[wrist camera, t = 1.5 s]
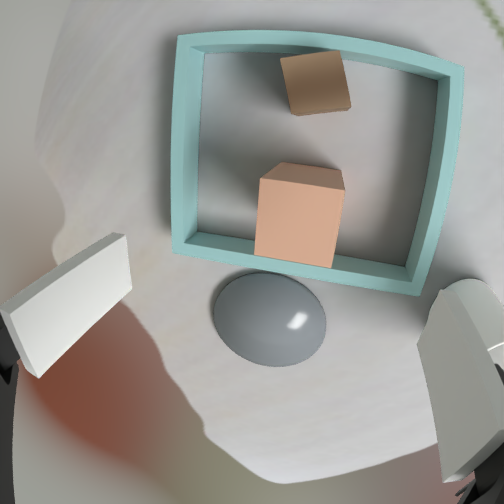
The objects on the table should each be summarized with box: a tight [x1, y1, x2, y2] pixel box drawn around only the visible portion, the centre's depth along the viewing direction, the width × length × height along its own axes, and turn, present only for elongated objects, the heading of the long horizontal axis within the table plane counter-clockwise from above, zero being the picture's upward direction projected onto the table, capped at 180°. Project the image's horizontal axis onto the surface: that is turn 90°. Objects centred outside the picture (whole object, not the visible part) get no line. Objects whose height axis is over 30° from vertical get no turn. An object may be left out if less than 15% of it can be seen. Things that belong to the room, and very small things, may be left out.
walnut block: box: [280, 50, 351, 116], centre depth 19 cm, size 4×4×5 cm
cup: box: [428, 279, 504, 371], centre depth 20 cm, size 8×12×10 cm
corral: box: [171, 30, 464, 297], centre depth 22 cm, size 19×22×3 cm
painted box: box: [254, 162, 345, 268], centre depth 22 cm, size 5×5×8 cm
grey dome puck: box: [213, 273, 326, 367], centre depth 31 cm, size 12×12×1 cm
